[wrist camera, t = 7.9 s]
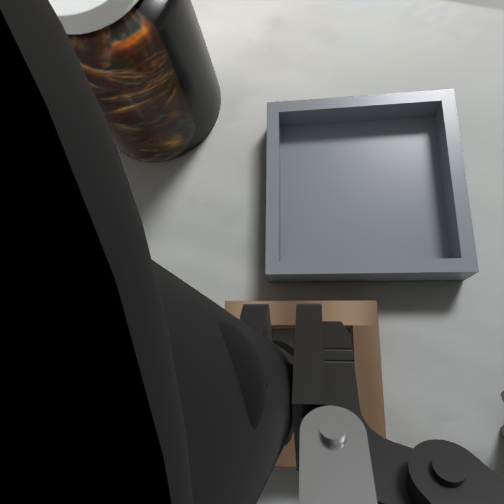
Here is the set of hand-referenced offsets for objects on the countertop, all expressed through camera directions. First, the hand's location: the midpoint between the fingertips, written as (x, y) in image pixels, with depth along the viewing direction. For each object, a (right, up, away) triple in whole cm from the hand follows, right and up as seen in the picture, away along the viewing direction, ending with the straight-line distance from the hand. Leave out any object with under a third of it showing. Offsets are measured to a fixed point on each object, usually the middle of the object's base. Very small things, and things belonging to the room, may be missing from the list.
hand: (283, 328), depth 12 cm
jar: (-9, +16, +28) cm, 34 cm away
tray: (+8, +7, +22) cm, 25 cm away
